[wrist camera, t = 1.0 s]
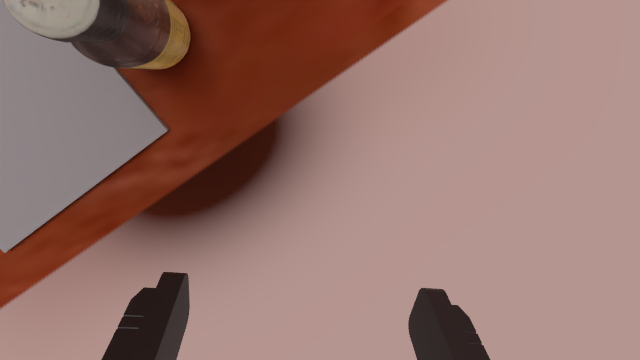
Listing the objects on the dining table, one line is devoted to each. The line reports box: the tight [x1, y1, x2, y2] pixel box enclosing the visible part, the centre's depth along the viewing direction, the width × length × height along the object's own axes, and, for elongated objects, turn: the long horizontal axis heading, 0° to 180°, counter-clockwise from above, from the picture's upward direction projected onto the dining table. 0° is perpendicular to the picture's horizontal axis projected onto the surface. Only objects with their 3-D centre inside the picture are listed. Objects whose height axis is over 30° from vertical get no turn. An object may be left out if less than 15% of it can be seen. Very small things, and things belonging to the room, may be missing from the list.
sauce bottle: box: [3, 0, 191, 69], centre depth 25 cm, size 6×6×20 cm
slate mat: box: [0, 0, 169, 253], centre depth 34 cm, size 18×20×1 cm
